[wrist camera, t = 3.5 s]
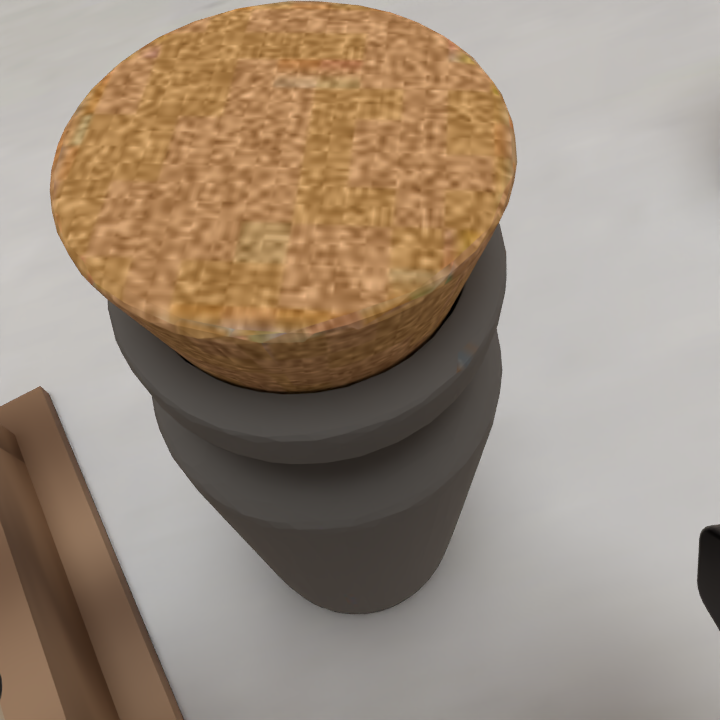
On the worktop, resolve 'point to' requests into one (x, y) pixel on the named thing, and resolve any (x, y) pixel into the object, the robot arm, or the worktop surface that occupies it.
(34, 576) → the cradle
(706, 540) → the robot arm
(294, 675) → the worktop surface
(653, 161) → the worktop surface
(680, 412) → the worktop surface
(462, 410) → the bottle
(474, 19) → the worktop surface
